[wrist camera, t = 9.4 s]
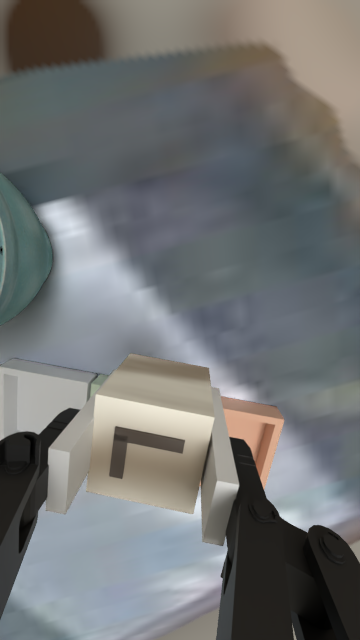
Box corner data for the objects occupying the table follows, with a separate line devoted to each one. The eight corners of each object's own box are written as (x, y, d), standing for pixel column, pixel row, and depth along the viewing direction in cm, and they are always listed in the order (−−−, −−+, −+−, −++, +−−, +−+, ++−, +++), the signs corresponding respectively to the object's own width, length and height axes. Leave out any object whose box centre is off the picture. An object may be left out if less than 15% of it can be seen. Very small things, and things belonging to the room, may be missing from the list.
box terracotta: (188, 390, 27) (188, 401, 25) (276, 406, 27) (284, 419, 25) (175, 463, 30) (173, 480, 27) (256, 479, 29) (261, 498, 27)
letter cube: (130, 353, 14) (94, 395, 9) (210, 368, 14) (217, 419, 9) (121, 422, 15) (85, 493, 10) (196, 437, 15) (195, 517, 10)
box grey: (14, 358, 28) (-3, 366, 26) (97, 373, 28) (87, 383, 25) (13, 432, 30) (-3, 445, 28) (90, 447, 30) (80, 462, 28)
